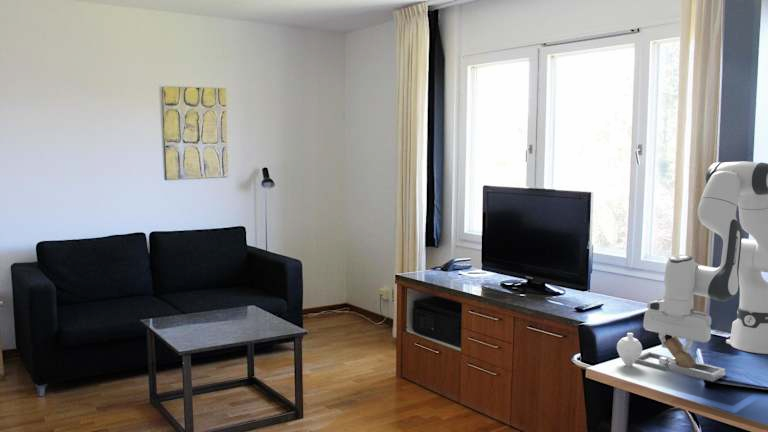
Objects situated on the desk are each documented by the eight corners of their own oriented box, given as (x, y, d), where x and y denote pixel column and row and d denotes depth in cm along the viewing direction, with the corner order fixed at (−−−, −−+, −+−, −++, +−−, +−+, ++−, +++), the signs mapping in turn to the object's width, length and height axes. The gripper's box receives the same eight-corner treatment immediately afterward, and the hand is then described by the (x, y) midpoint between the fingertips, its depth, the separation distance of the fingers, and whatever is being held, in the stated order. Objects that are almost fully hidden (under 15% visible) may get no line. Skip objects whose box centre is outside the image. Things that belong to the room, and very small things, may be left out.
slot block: (679, 368, 219) (680, 357, 219) (724, 379, 209) (725, 368, 208) (666, 374, 213) (667, 363, 213) (712, 386, 203) (713, 375, 202)
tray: (648, 359, 228) (648, 352, 228) (681, 367, 220) (681, 360, 219) (632, 366, 221) (632, 358, 220) (665, 375, 212) (665, 366, 212)
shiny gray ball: (661, 364, 221) (662, 355, 220) (672, 367, 218) (672, 358, 218) (656, 366, 218) (657, 357, 218) (667, 369, 216) (667, 360, 215)
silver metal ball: (671, 365, 218) (671, 356, 218) (682, 367, 215) (682, 357, 215) (667, 367, 215) (667, 358, 215) (678, 369, 213) (678, 360, 213)
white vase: (619, 364, 222) (621, 328, 221) (643, 369, 218) (645, 332, 217) (612, 370, 216) (614, 333, 214) (637, 375, 212) (639, 338, 210)
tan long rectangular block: (690, 367, 214) (670, 340, 218) (696, 363, 212) (676, 336, 217) (683, 370, 211) (663, 342, 215) (689, 366, 209) (669, 338, 214)
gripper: (716, 311, 208) (712, 355, 209) (651, 300, 223) (648, 341, 224) (707, 314, 204) (704, 359, 205) (642, 302, 219) (639, 344, 220)
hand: (674, 349), depth 215 cm, fingers closed on tan long rectangular block, 5 cm apart
